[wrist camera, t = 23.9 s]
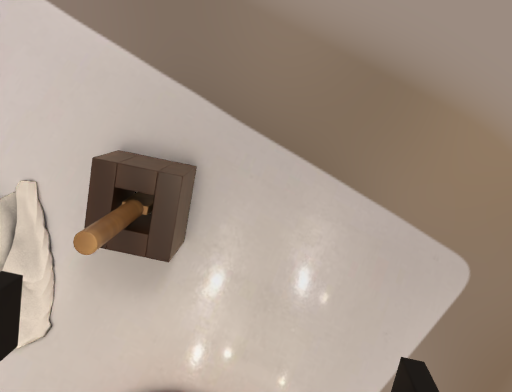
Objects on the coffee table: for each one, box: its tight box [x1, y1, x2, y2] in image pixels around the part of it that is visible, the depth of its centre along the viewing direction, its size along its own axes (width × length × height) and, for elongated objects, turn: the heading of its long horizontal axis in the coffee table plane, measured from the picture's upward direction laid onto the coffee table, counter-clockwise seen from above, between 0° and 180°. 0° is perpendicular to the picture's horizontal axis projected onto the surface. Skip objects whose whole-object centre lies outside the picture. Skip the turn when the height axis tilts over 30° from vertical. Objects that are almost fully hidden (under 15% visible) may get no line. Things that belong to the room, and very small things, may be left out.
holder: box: [84, 150, 197, 262], centre depth 41 cm, size 8×8×6 cm
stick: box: [73, 192, 155, 255], centre depth 37 cm, size 2×2×15 cm
